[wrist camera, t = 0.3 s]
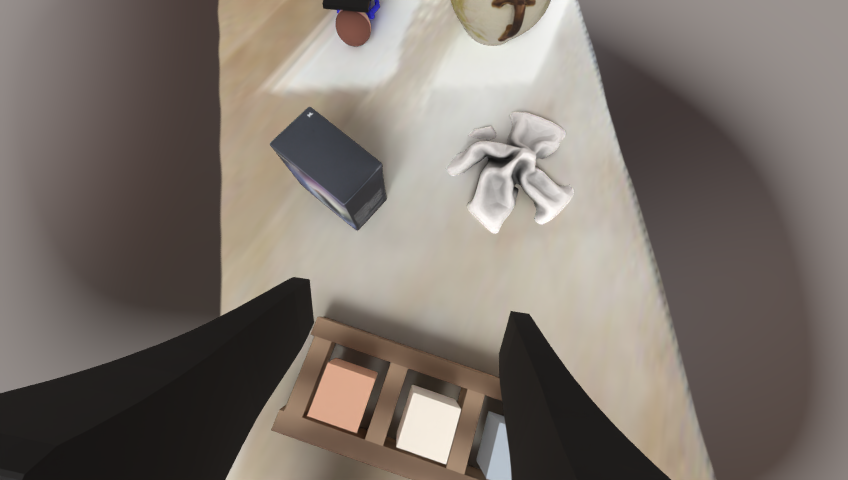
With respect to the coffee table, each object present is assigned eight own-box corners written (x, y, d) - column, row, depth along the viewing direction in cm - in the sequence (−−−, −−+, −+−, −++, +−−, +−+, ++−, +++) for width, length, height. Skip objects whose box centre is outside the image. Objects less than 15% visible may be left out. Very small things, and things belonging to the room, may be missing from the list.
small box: (297, 185, 42) (264, 143, 32) (330, 152, 44) (309, 102, 34) (356, 233, 41) (342, 206, 31) (388, 198, 43) (384, 161, 32)
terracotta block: (361, 419, 34) (356, 433, 30) (317, 404, 34) (307, 415, 30) (378, 372, 35) (375, 379, 31) (335, 357, 35) (327, 362, 31)
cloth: (553, 106, 49) (574, 76, 43) (593, 216, 45) (623, 201, 39) (414, 127, 46) (415, 99, 40) (443, 247, 42) (449, 235, 36)
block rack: (534, 509, 35) (546, 526, 32) (281, 420, 35) (271, 430, 32) (556, 397, 38) (569, 404, 35) (323, 316, 38) (317, 316, 35)
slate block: (520, 475, 33) (536, 496, 30) (476, 459, 34) (486, 478, 30) (531, 425, 35) (547, 439, 31) (488, 410, 35) (499, 422, 31)
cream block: (440, 447, 34) (446, 464, 30) (396, 432, 34) (396, 447, 30) (454, 399, 35) (461, 409, 31) (411, 384, 35) (413, 392, 31)
